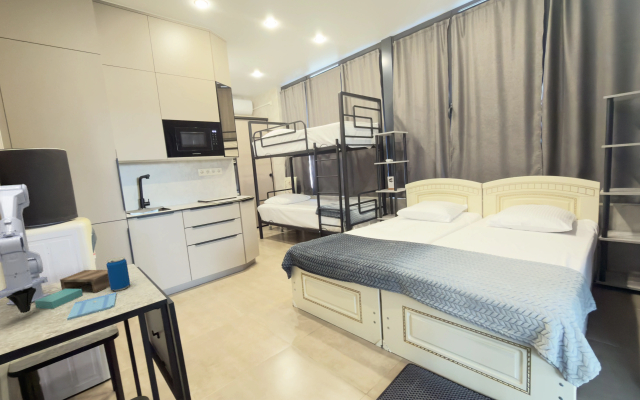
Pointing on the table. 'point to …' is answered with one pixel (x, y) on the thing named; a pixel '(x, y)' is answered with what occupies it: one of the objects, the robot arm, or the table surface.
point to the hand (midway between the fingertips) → (25, 311)
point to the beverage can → (118, 273)
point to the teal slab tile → (58, 298)
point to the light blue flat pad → (92, 305)
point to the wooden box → (87, 280)
